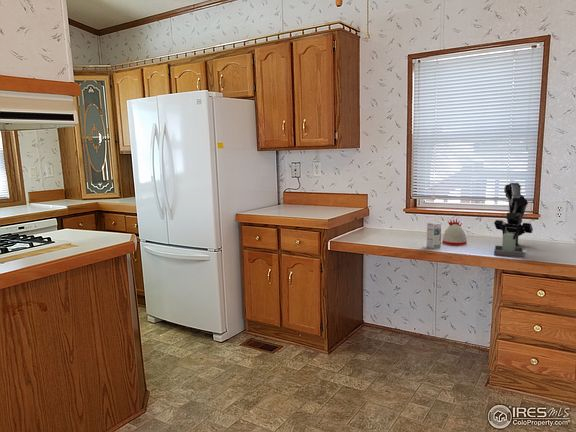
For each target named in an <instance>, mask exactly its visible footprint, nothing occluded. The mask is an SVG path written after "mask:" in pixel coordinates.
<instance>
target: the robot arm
mask: <svg viewBox="0 0 576 432" xmlns="http://www.w3.org/2000/svg"><path fill="white" fill-rule="evenodd" d="M521 188H522V187H521V185H520V183H519V182H510V183H509V184H505V185H504V190H503V192H504V193H505V197H506V198H507V199H508V212H507V213H506V216H505V219H506V221H507V222H505V221H504V220H502V219H501V220H499V219H495V221H494V222H493V224H494V227H495V229H496V230H500V231H501V232H502V235H503V234H505V233H513V234H514V237H513V240H515V239H516V244H515V246H516V247H520V243H519V237H520V236H522V235H523V234H526V233H527V234H532V233H533V230H534V229H533V225H532V224H531V223H530V222H523V218H524V216H525V213H526V209H527V207H528V206H527V205H528V204H529V201H528V200H527V199H526V198H525V196H524V195H522V194H521V193H522V192H521V191H522V189H521Z"/></svg>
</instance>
